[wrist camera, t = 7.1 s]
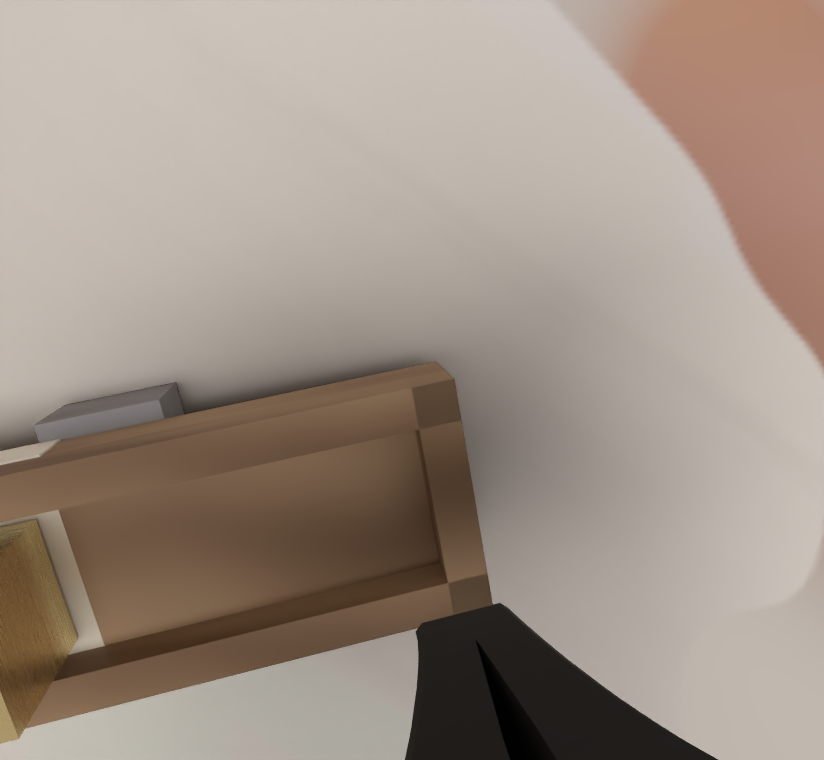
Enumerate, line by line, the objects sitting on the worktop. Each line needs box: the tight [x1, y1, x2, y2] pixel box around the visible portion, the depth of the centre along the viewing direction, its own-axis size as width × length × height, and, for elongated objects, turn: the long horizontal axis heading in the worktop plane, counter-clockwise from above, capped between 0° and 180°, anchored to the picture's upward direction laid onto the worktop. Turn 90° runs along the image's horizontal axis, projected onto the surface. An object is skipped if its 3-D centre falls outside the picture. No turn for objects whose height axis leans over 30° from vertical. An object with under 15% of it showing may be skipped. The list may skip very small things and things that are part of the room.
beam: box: [0, 362, 493, 728], centre depth 16 cm, size 7×17×4 cm, turn 100°
